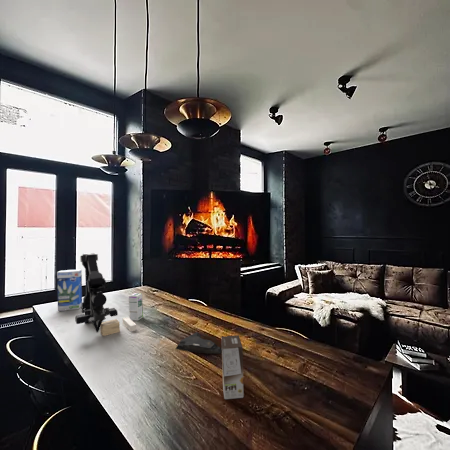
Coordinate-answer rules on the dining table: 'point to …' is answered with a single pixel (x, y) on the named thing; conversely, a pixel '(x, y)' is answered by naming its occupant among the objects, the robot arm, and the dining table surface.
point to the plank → (129, 324)
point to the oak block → (110, 327)
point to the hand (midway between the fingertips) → (97, 332)
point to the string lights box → (69, 289)
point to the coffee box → (232, 367)
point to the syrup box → (135, 306)
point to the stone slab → (198, 345)
